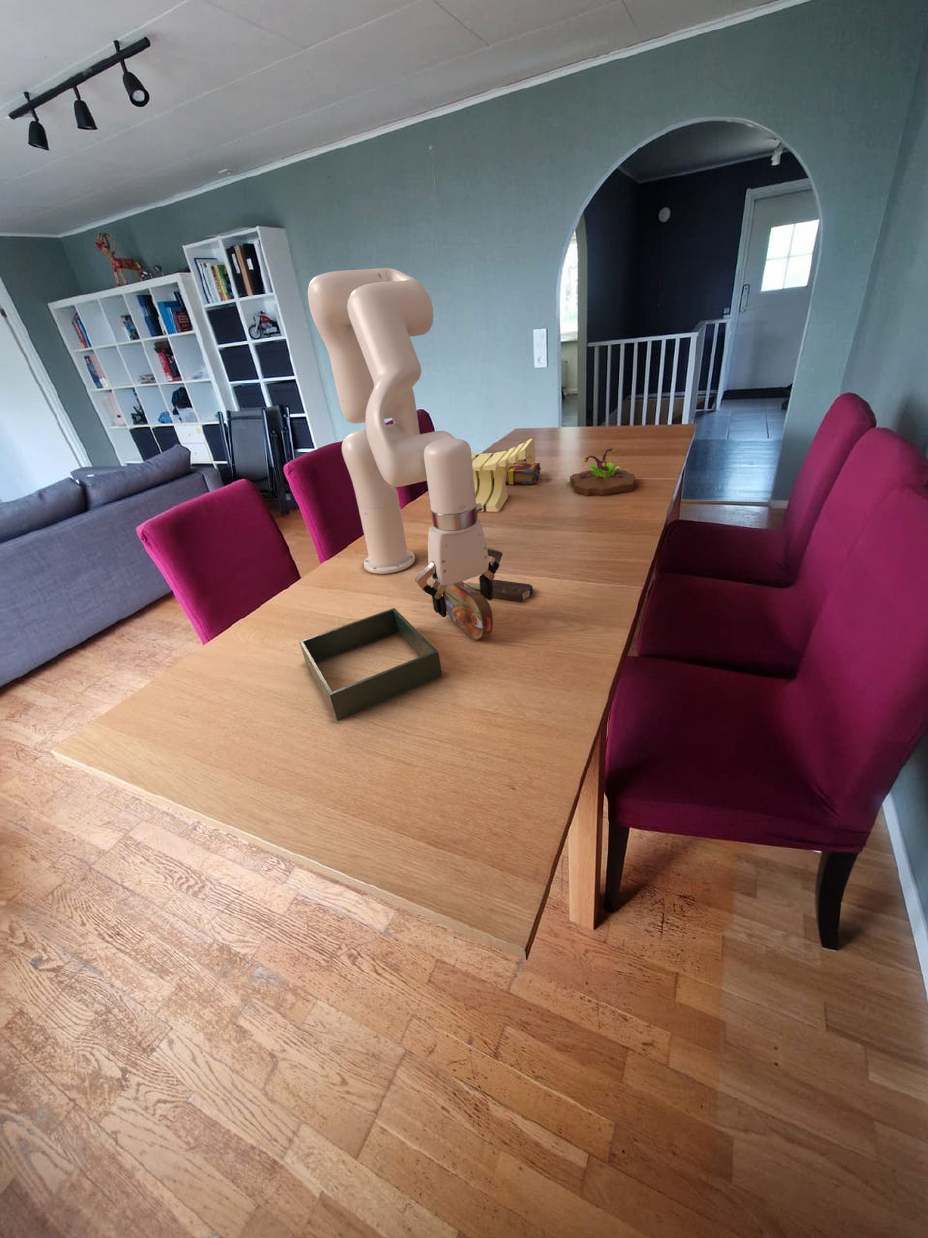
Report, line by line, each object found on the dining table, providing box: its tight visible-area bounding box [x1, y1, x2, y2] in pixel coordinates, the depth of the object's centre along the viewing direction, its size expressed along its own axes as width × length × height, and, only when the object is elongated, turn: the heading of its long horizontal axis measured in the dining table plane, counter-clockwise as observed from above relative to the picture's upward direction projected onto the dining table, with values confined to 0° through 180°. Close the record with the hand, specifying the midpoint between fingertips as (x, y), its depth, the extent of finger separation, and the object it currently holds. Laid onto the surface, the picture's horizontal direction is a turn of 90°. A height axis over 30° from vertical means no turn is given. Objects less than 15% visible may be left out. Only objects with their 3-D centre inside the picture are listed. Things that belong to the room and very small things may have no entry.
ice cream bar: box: [465, 578, 534, 603], centre depth 107 cm, size 5×2×15 cm
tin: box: [442, 581, 494, 641], centre depth 95 cm, size 15×3×8 cm, turn 30°
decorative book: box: [505, 461, 542, 485], centre depth 175 cm, size 11×16×5 cm
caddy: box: [298, 607, 443, 722], centre depth 87 cm, size 18×18×5 cm
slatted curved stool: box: [471, 437, 536, 513], centre depth 154 cm, size 30×16×18 cm, turn 74°
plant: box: [569, 448, 637, 496], centre depth 159 cm, size 20×20×11 cm
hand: (464, 605), depth 95 cm, fingers open, 9 cm apart
